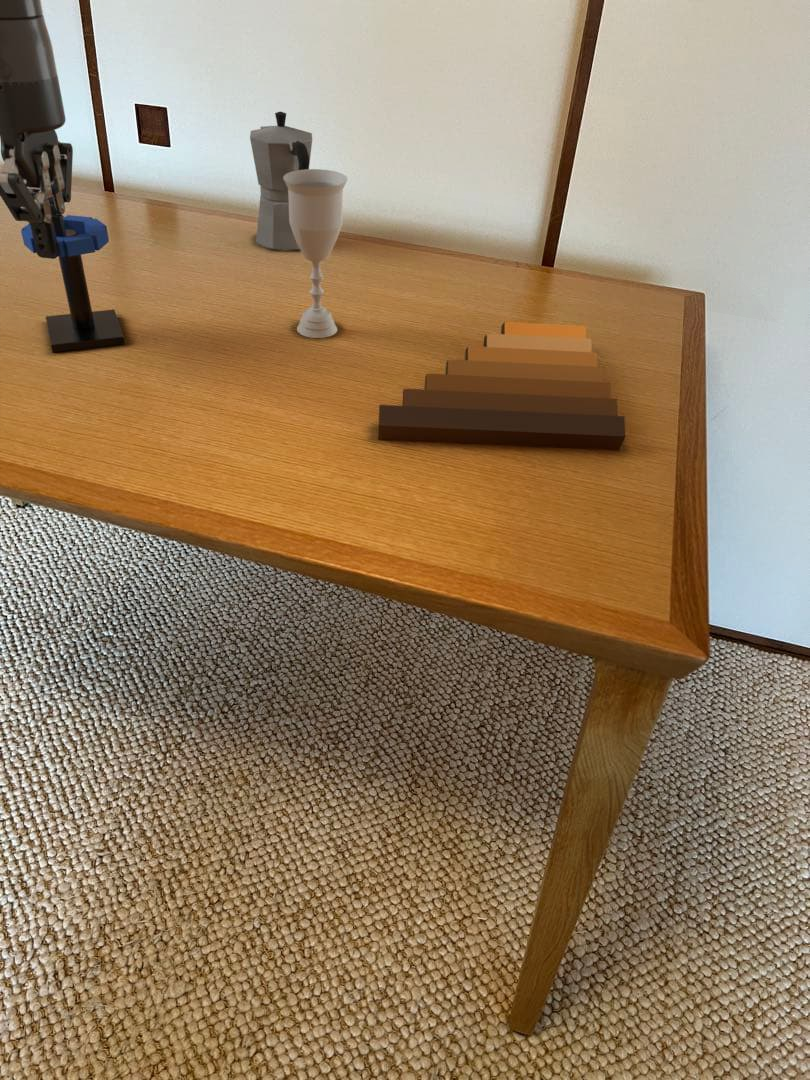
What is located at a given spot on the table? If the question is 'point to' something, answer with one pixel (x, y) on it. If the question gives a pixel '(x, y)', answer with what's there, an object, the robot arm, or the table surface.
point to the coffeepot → (277, 179)
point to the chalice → (316, 234)
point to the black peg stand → (81, 314)
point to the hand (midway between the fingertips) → (53, 252)
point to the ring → (75, 236)
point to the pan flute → (514, 395)
